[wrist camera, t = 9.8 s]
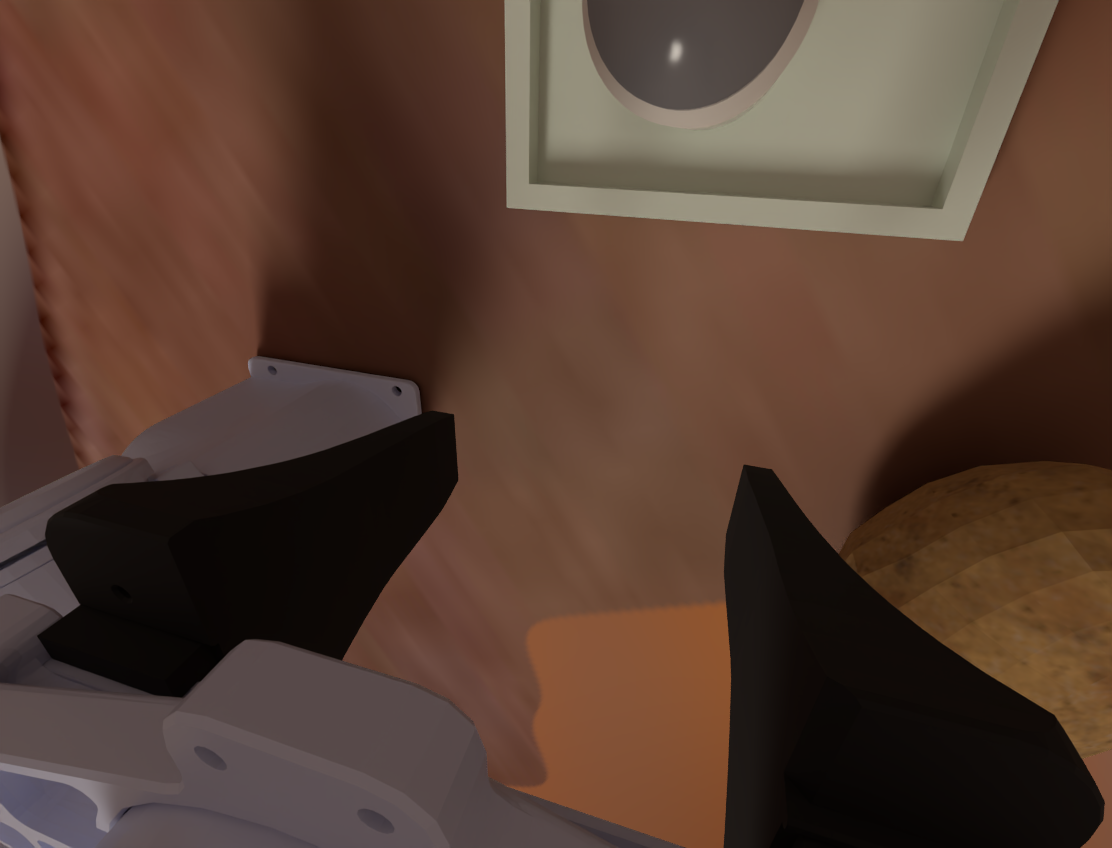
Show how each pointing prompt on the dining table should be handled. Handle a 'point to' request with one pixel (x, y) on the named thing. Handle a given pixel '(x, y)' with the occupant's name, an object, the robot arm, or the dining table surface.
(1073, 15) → the dining table surface
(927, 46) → the tray
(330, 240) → the dining table surface
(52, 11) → the dining table surface
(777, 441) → the dining table surface
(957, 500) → the potato
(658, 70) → the shaker
